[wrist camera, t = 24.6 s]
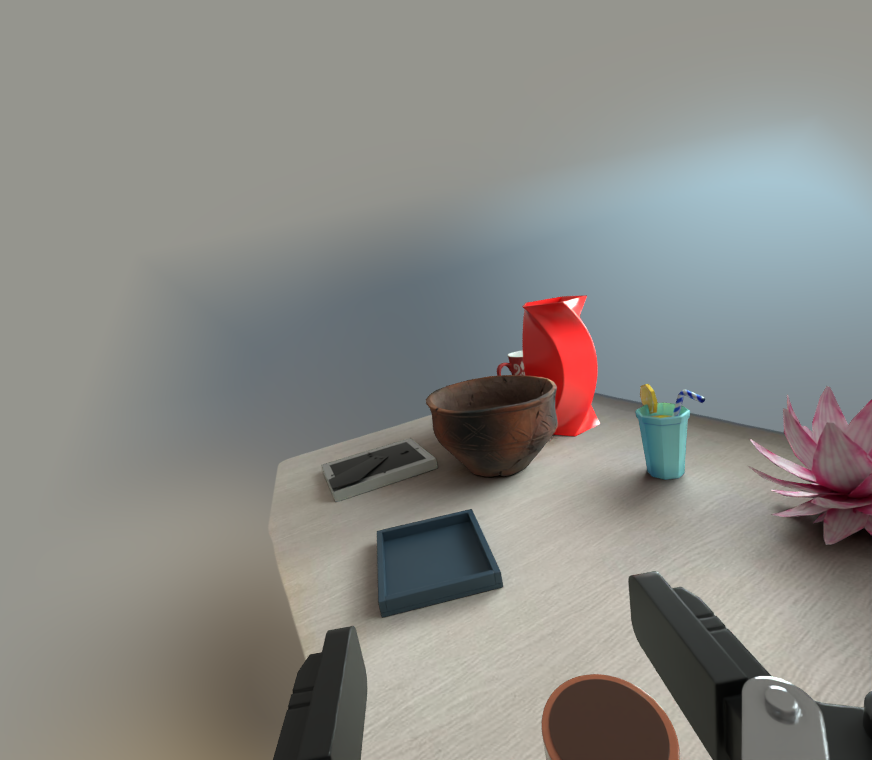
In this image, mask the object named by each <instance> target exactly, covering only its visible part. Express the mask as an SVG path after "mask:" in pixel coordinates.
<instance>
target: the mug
mask: <svg viewBox="0 0 872 760" xmlns="http://www.w3.org/2000/svg"><path fill="white" fill-rule="evenodd" d="M508 357H509V362H510V363H501V364H500V365H499V366H498V368H497V376H501V369H502V367H503V366H507V367H508V368H509V370H510V371H511V373H512V375H523V376H525V373H524V364H523V350H522V351H517V352H513V353H510V354H508Z"/></svg>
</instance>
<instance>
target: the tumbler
mask: <svg viewBox="0 0 872 760" xmlns="http://www.w3.org/2000/svg"><path fill="white" fill-rule="evenodd" d="M542 736H543V742H544V749H545V756H546V760H680V750H679V743H678V739H677V735H676V732H675V730H674V727H673V725H672V723H671V721H670V720H669V718H668V716H667V715H666V713H665V712H664V710H663V709H662V708H661V707H660V705H659V704H658V703H657V702H656V701H655V700H654V699H653V698H652V697H651V696H649V695H648V694H647V693H646V692H644V691H643V690H642V689H640V688H638V687H637V686H635V685H633V684H631V683H629V682H627V681H625V680H622V679H619V678H616V677H612V676H608V675H599V674H591V675H583V676H578V677H575V678H572V679H570V680H568V681H566V682H564V683H563V684H561V685H560V686H559V687H558V688H557V689H556V690H555V691H554V692H553V693H552V694H551V696H550V697H549V699H548V701H547V703H546V705H545V707H544V711H543V715H542Z"/></svg>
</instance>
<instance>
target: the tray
mask: <svg viewBox="0 0 872 760" xmlns="http://www.w3.org/2000/svg"><path fill="white" fill-rule="evenodd" d="M377 564H378V603H379V607H380V612H381V616H382V617H386V616H390V615H394V614H398V613H402V612H406V611H410V610H414V609H418V608H422V607H426V606H430V605H434V604H438V603H442V602H446V601H449V600H453V599H457V598H461V597H465V596H469V595H473V594H477V593H481V592H485V591H489V590H493V589H497V588H501V587H503V583H502V577H501V571H500V569H499V567H498V565H497V563H496V561H495V558H494V556H493V554H492V552H491V550H490V548H489V545H488V543H487V541H486V539H485V537H484V535H483V532H482V530H481V528H480V526H479V524H478V522H477V519H476V517H475V515H474V513H473V511H472V509H469V510H465V511H461V512H456V513H452V514H448V515H444V516H439V517H435V518H431V519H426V520H422V521H418V522H413V523H409V524H405V525H401V526H396V527H392V528H388V529H383V530H379V531H377Z"/></svg>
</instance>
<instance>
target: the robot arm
mask: <svg viewBox="0 0 872 760" xmlns="http://www.w3.org/2000/svg"><path fill="white" fill-rule="evenodd" d="M629 595H630V609H631V621H632V626H633V629H634V633H635V635H636V638H637V640H638V642H639V644H640V646H641V647H642V649H643V650H644V652H645V654H646V655H647V657H648V658H649V660H650V661H651V663H652V665H653V666H654V668H655V669H656V671H657V672H658V674H659V676H660V677H661V679H662V680H663V682H664V684H665V685H666V687H667V688H668V690H669V691H670V693H671V695H672V696H673V698H674V699H675V701H676V702H677V704H678V706H679V707H680V709H681V710H682V712H683V714H684V715H685V717H686V718H687V720H688V721H689V723H690V725H691V726H692V728H693V729H694V731H695V732H696V734H697V736H698V737H699V739H700V740H701V742H702V743H703V745H704V747H705V748H706V750H707V751H708V753H709V755H710V756H711V758H712V759H713V760H872V691H871V692H869V693H868V694H867V695H866V697H865V700H864V708H862V707H853V706H844V705H836V704H827V703H821V702H817V701H814V700H813V699H812V698H811V697H810V696H809V695H808V694H807V693H805V692H804V691H803V690H801V689H800V688H798V687H797V686H795V685H793V684H791V683H789V682H787V681H784V680H781V679H778V678H774V677H772V676H771V675H770V674H769V673H768V672H767V671H766V670H765V668H764V667H763V666H762V665H761V664H760V663H759V662H758V661H757V660H756V659H755V658H754V656H753V655H752V654H751V653H750V652H749V651H748V650H747V649H746V648H745V647H744V646H743V644H742V643H741V642H740V641H739V640H738V639H737V638H736V637H735V636H734V635H733V634H732V632H731V631H730V630H729V629H726V627H725V625H724V624H723V623H722V622H721V620H720V619H719V618H718V617H717V616H715V615H714V613H713V612H712V611H711V610H710V608H709V607H708V606H707V605H706V604H705V603H704V602H703V601H702V600H701V599H700V598H699V597H697V596H696V595H694V594H692V593H691V592H689V591H687V590H686V589H684V588H683V587H677V588H671V587H670V585H669V584H668V583H667V582H666V581H665V580H664V578H663V577H662V576H661V575H660V574H659V573H658V572H656V571H653V572H647V573H642V574H637V575H631V576H630V577H629ZM366 701H367V675H366V669H365V665H364V660H363V656H362V652H361V648H360V644H359V640H358V636H357V632H356V629H355V627H354V626H350V627H344V628H339V629H334V630H329V631H327V633H326V637H325V641H324V646H323V650H322V652H321V653H316V654H311V655H309V657H308V658H307V660H306V661H305V662H304V664H303V665H302V667H301V668H300V670H299V671H298V673H297V677H296V681H295V684H294V688H293V694H292V695H291V698H290V702H289V705H288V710H287V712H286V716H285V720H284V723H283V726H282V730H281V734H280V737H279V740H278V744H277V747H276V751H275V755H274V758H273V760H361V750H362V740H363V730H364V720H365V711H366Z"/></svg>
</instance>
